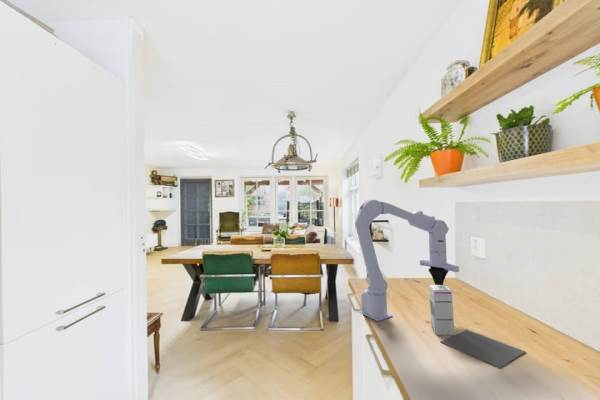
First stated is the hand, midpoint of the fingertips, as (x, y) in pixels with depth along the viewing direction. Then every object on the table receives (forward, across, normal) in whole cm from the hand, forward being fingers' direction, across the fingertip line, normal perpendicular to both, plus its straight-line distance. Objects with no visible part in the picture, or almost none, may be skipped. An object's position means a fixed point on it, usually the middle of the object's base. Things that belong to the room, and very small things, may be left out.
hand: (439, 287), depth 103 cm
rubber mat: (+10, -20, +11) cm, 25 cm away
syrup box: (+11, -8, +11) cm, 17 cm away
